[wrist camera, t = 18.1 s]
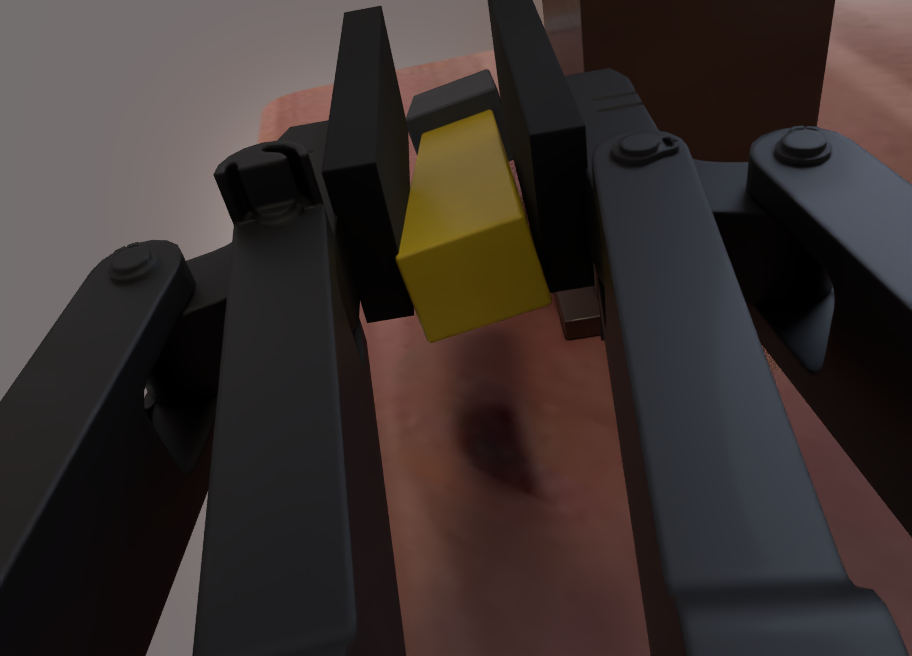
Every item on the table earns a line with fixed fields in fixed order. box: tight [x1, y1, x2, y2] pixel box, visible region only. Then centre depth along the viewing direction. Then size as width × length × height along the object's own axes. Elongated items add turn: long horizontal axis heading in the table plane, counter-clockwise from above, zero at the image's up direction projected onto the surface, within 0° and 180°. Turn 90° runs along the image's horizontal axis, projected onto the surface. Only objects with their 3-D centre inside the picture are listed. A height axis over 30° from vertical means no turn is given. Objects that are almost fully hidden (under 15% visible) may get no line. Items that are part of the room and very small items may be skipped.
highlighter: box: [395, 69, 552, 343], centre depth 19 cm, size 16×3×2 cm, turn 3°
